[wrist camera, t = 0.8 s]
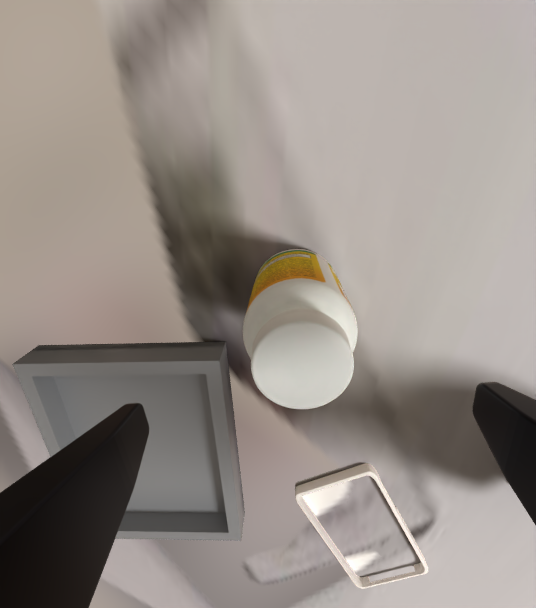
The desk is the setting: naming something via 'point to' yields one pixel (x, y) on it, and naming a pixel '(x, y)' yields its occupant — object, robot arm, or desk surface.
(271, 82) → the desk surface
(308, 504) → the phone case
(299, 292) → the supplement bottle
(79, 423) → the tray
